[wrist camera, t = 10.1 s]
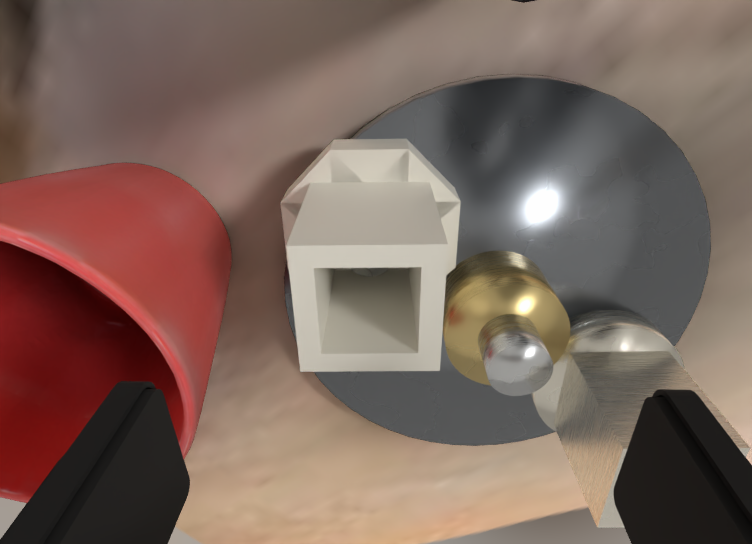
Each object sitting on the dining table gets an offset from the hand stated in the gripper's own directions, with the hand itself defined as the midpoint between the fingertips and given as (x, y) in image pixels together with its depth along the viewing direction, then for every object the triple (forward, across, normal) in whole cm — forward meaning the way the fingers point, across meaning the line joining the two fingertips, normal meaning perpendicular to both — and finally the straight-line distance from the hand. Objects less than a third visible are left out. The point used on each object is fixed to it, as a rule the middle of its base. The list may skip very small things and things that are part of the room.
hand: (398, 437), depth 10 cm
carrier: (+13, -4, +4) cm, 15 cm away
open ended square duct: (+12, +1, 0) cm, 12 cm away
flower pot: (+13, +12, +2) cm, 17 cm away
